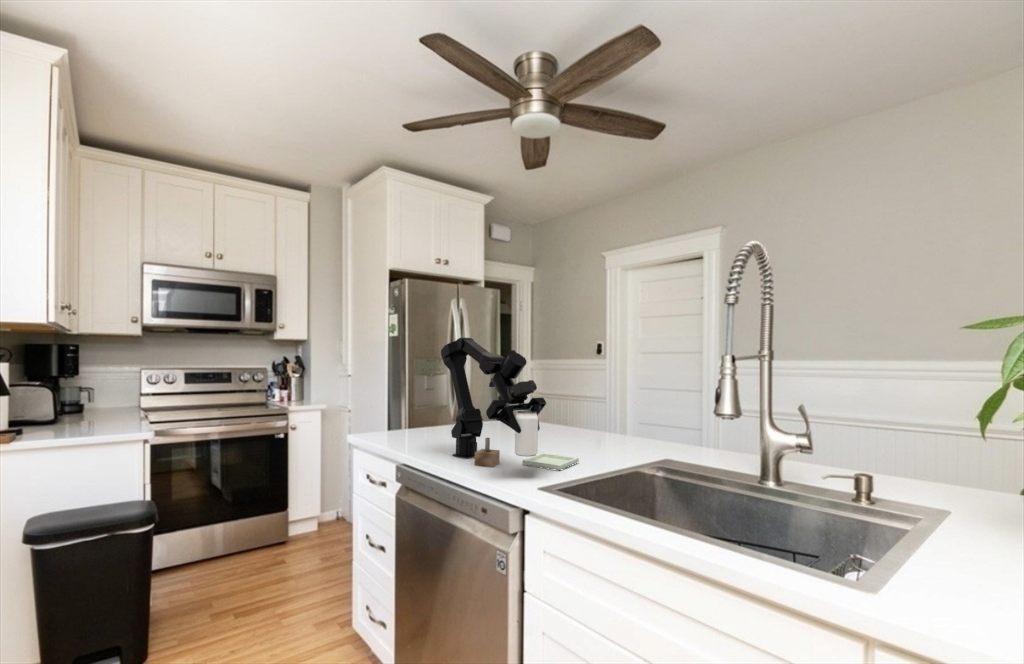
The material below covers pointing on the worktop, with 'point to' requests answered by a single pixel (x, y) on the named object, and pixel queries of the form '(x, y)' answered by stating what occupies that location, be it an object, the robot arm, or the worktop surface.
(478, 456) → the wooden peg block
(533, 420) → the can
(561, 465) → the tray
